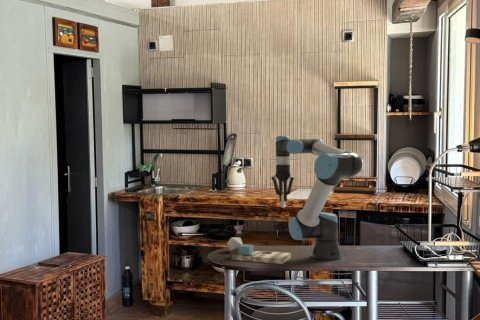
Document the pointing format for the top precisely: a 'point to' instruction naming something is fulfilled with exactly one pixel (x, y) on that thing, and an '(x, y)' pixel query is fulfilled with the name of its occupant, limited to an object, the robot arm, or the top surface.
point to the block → (246, 249)
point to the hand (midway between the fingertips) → (283, 207)
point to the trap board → (261, 256)
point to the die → (234, 243)
